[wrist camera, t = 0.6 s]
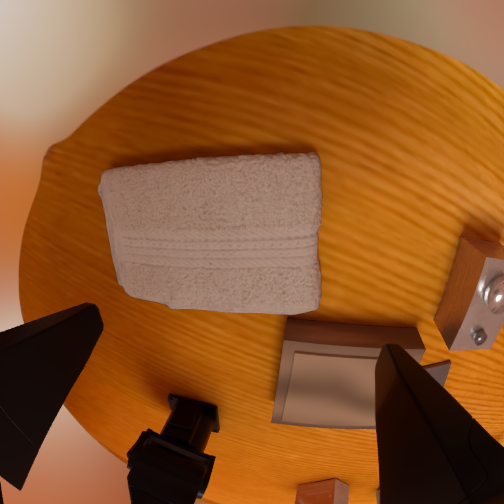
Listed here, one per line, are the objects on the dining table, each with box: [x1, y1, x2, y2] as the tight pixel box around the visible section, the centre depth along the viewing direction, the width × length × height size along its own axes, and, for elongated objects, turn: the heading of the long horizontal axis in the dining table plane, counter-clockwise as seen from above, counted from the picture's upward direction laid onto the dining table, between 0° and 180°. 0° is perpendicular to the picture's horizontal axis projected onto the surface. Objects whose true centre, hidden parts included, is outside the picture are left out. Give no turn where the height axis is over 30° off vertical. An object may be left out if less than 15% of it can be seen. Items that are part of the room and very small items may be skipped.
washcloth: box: [98, 152, 323, 315], centre depth 21 cm, size 12×18×3 cm, turn 94°
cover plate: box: [423, 360, 451, 386], centre depth 24 cm, size 7×4×1 cm, turn 12°
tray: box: [271, 318, 426, 429], centre depth 23 cm, size 12×12×3 cm
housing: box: [434, 236, 504, 351], centre depth 16 cm, size 8×5×6 cm, turn 178°
